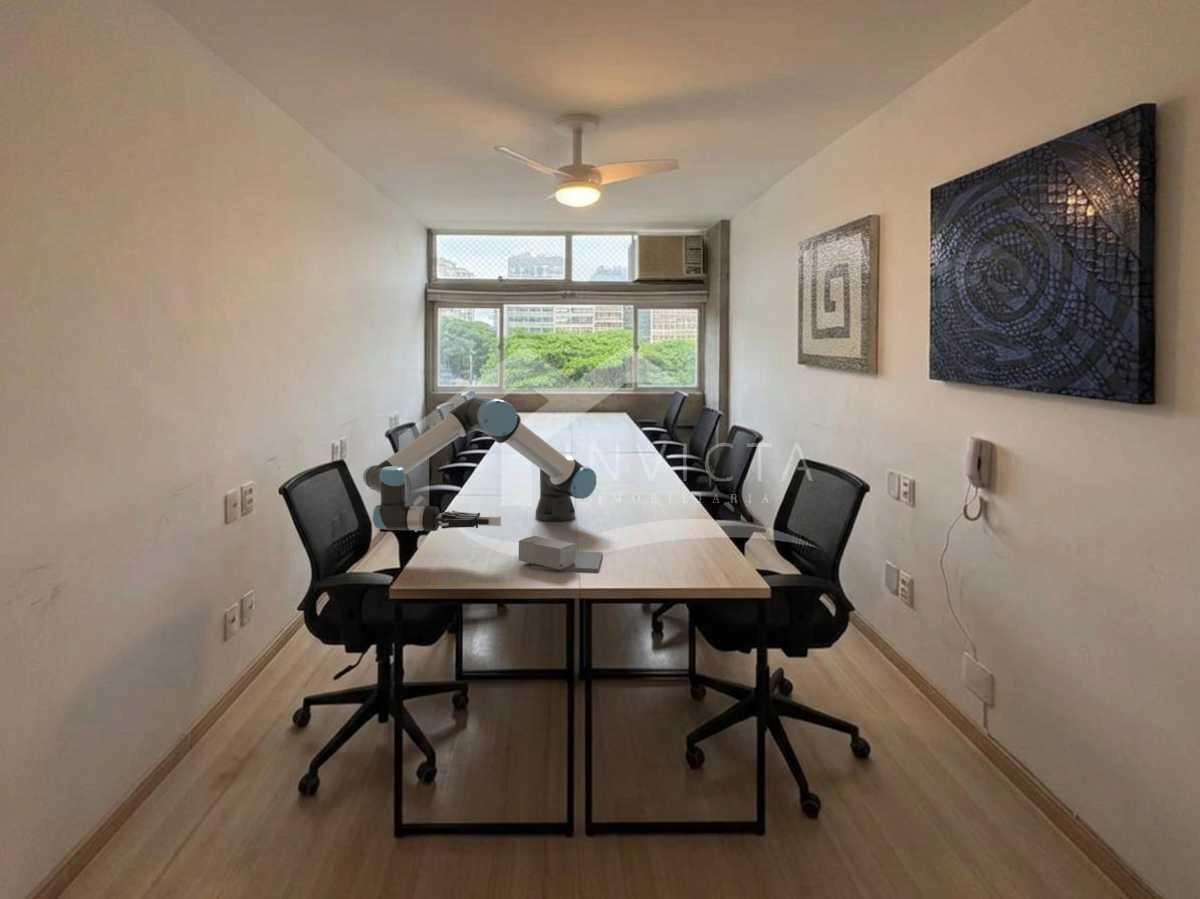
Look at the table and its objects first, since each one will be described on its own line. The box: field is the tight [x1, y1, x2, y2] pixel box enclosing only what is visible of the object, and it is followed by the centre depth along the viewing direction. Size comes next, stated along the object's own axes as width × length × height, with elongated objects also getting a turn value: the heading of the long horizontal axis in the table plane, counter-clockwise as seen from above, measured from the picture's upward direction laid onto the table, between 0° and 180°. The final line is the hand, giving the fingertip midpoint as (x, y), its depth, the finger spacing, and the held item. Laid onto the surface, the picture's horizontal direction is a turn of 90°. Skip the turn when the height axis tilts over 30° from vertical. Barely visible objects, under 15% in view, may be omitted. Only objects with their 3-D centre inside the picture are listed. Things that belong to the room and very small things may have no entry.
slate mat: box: [530, 551, 603, 573], centre depth 221 cm, size 20×16×1 cm
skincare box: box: [518, 535, 577, 569], centre depth 216 cm, size 8×7×16 cm
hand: (500, 521), depth 220 cm, fingers closed
